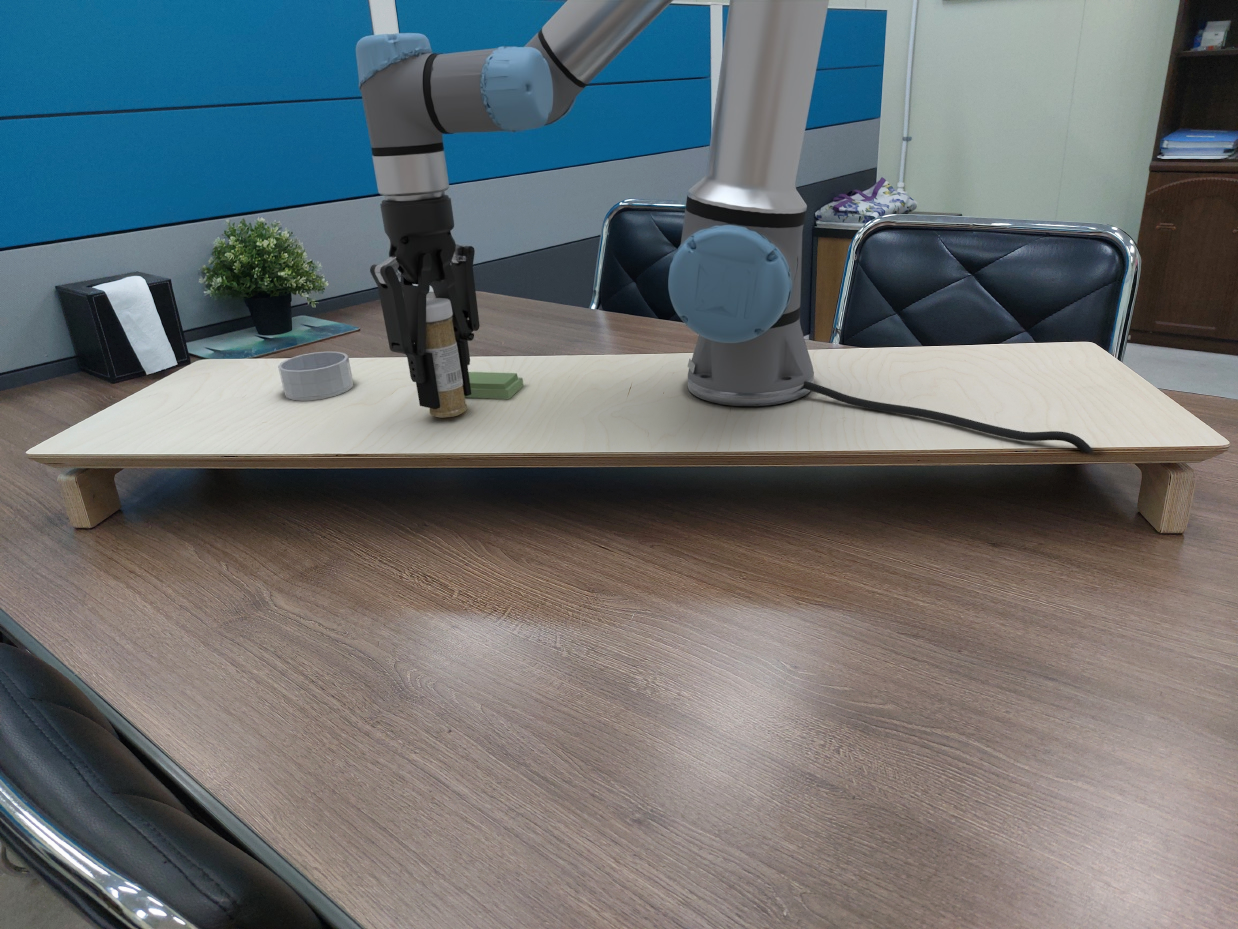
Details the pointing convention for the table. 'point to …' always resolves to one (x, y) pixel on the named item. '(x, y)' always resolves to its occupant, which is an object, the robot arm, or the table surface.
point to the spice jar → (444, 358)
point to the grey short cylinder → (316, 375)
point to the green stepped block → (494, 385)
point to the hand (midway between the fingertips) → (446, 399)
